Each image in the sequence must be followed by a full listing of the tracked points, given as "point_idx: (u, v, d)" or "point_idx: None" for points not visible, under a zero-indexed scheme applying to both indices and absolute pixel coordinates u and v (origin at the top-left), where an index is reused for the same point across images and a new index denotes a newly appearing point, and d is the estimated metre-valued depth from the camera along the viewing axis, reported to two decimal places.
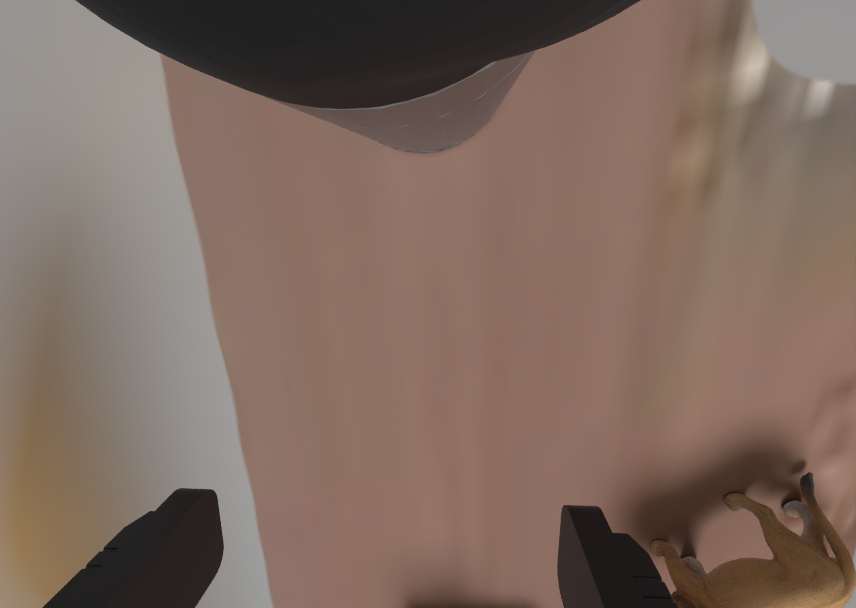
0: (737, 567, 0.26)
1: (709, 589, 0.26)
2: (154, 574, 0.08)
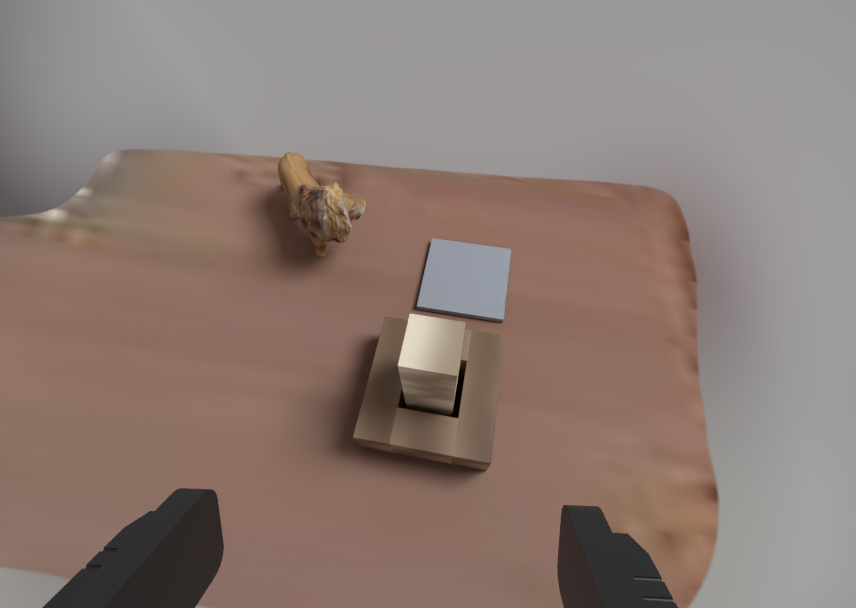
0: None
1: None
2: (154, 573, 0.08)
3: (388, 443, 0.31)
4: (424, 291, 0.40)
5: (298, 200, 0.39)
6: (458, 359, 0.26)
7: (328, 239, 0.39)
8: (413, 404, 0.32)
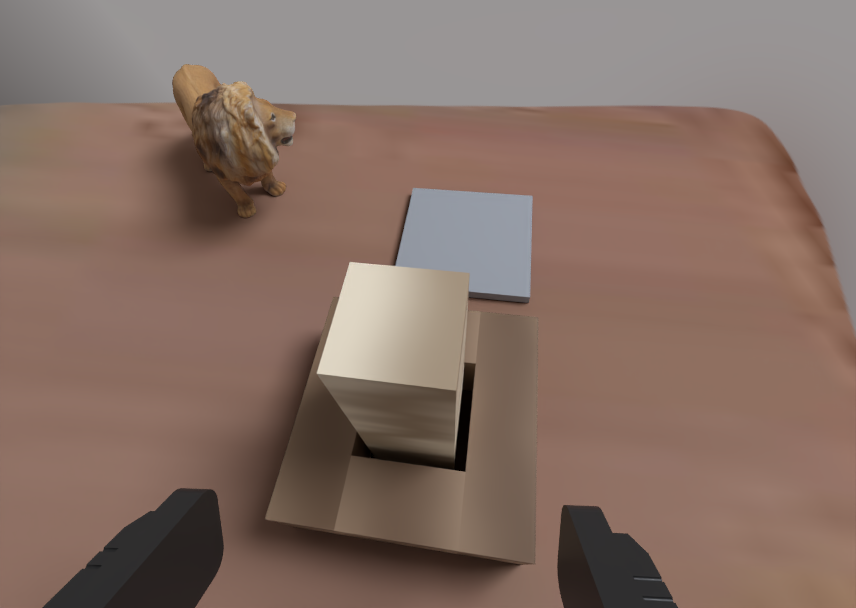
0: None
1: None
2: (154, 573, 0.08)
3: (332, 529, 0.16)
4: (403, 261, 0.26)
5: None
6: (457, 352, 0.11)
7: (243, 179, 0.25)
8: (380, 447, 0.17)
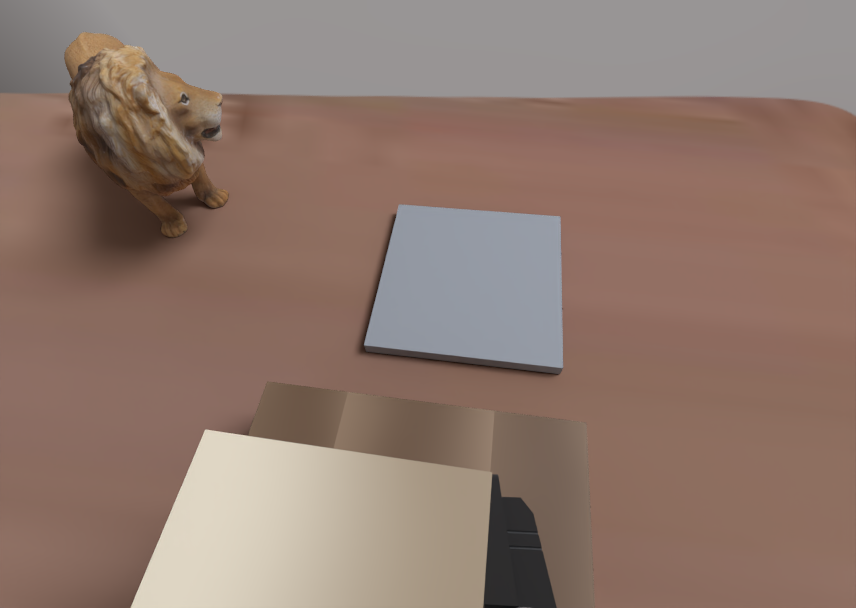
0: None
1: None
2: None
3: None
4: (382, 310, 0.18)
5: None
6: None
7: (153, 188, 0.18)
8: None
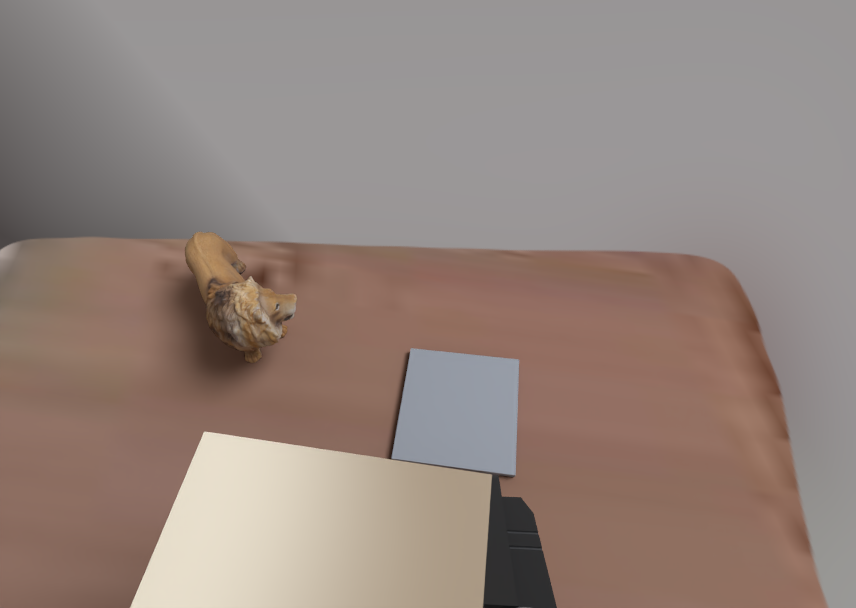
0: None
1: None
2: None
3: None
4: (402, 433, 0.29)
5: None
6: None
7: (251, 349, 0.29)
8: None
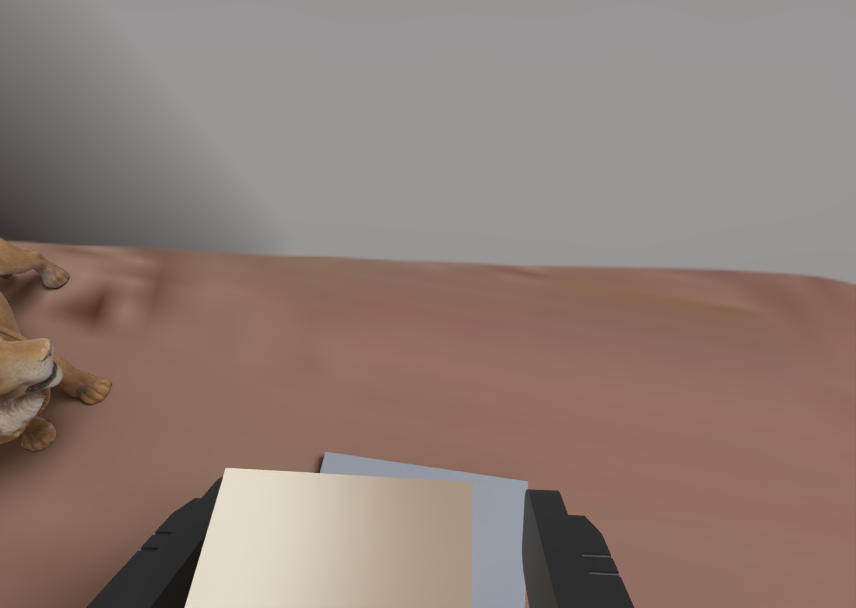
0: None
1: None
2: None
3: None
4: None
5: None
6: None
7: None
8: None
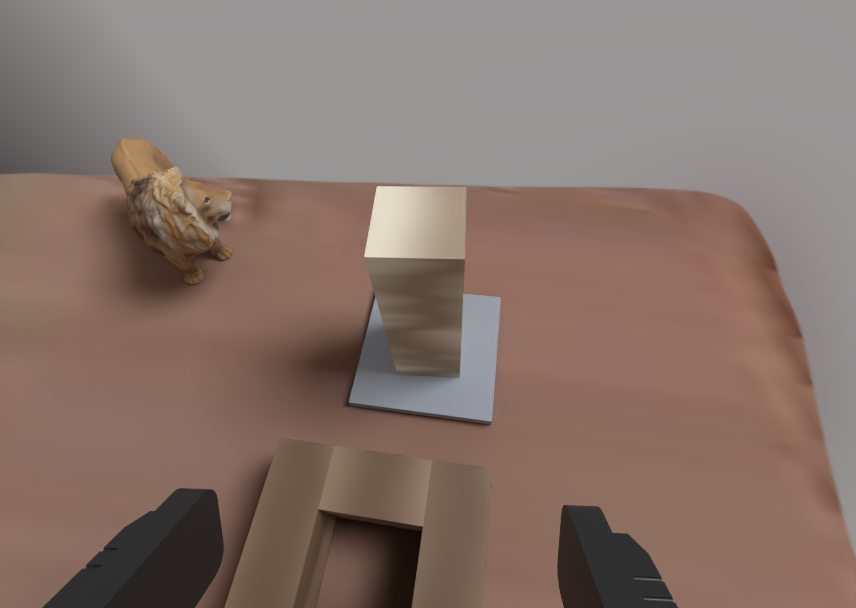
0: None
1: None
2: (154, 573, 0.08)
3: None
4: (362, 375, 0.25)
5: None
6: (463, 236, 0.16)
7: (183, 256, 0.26)
8: (401, 350, 0.22)
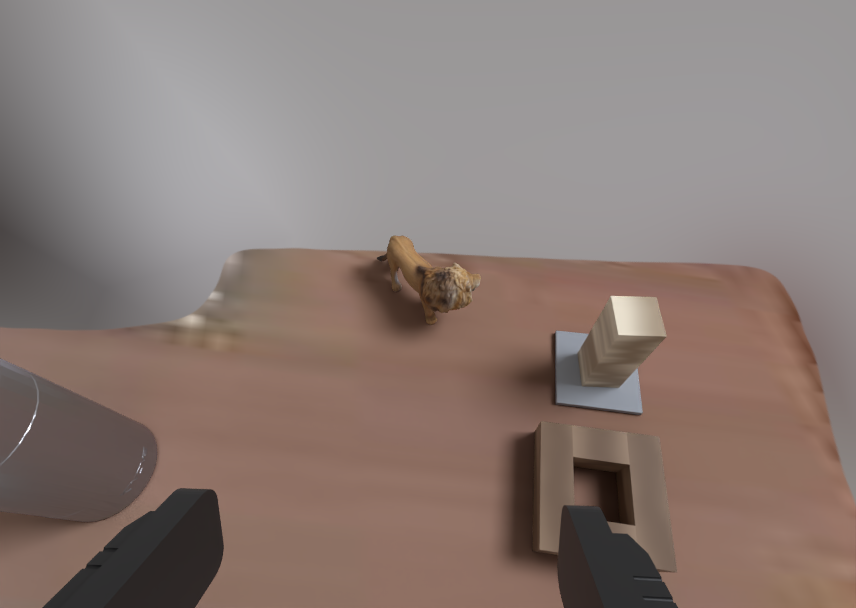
0: None
1: (417, 291, 0.45)
2: (154, 573, 0.08)
3: None
4: (561, 386, 0.42)
5: (417, 280, 0.44)
6: (662, 324, 0.33)
7: (447, 311, 0.44)
8: (597, 373, 0.40)
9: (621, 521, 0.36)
